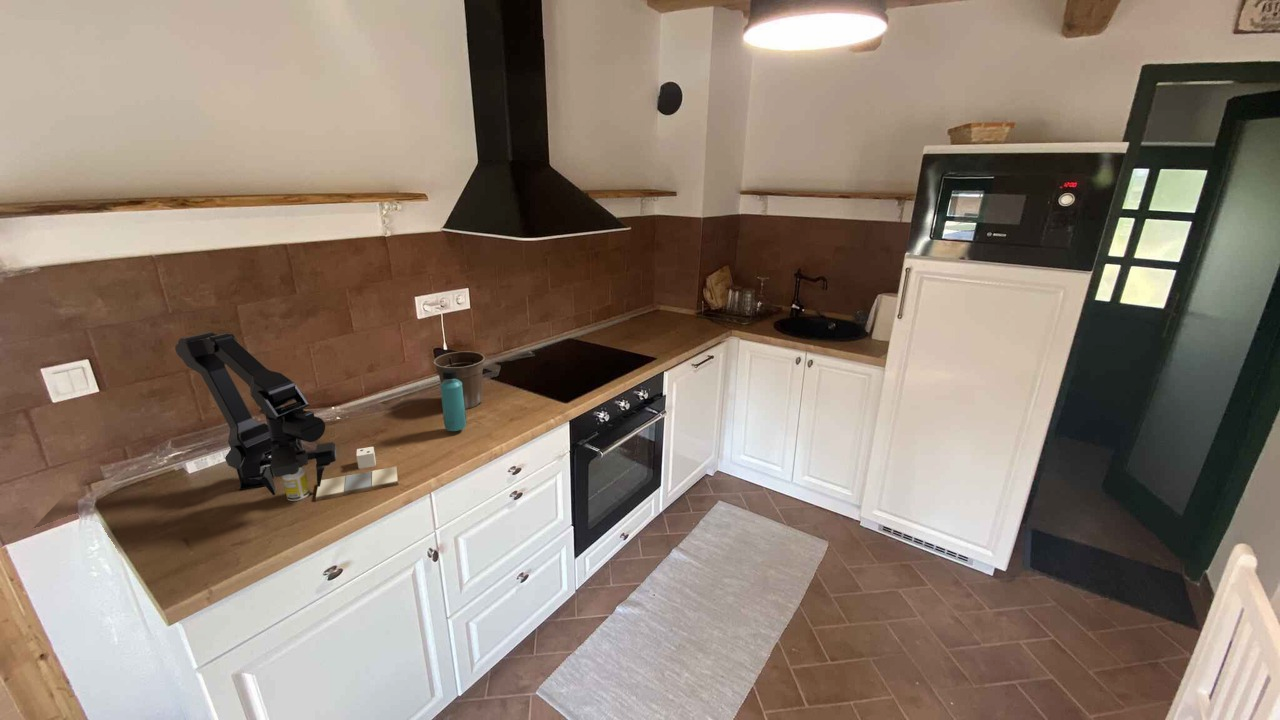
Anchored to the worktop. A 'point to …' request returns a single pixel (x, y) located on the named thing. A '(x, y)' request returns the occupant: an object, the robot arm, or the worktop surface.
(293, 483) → the supplement bottle
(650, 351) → the worktop surface
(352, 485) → the board
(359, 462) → the die
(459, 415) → the beverage bottle
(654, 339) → the worktop surface
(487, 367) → the worktop surface
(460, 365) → the plant pot
